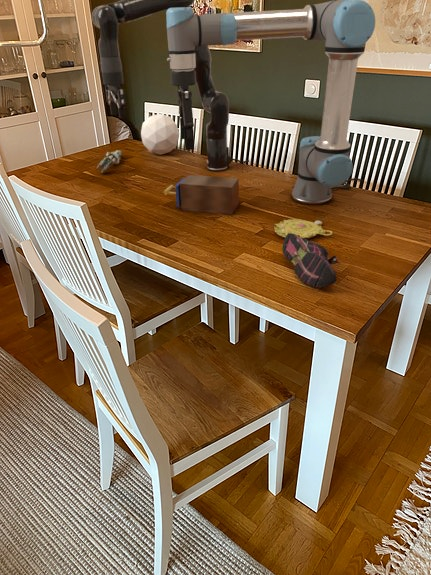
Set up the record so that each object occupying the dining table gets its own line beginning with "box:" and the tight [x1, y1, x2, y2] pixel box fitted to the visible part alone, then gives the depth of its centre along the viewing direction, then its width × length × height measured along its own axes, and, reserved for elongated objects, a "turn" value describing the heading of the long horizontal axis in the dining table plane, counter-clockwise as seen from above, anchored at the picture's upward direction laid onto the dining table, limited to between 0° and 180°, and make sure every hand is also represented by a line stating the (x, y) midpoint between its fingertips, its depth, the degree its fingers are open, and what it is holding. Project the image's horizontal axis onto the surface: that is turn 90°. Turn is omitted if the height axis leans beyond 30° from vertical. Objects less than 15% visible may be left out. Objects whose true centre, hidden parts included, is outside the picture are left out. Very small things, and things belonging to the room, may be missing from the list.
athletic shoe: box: [282, 233, 341, 288], centre depth 122 cm, size 11×22×12 cm
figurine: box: [96, 150, 123, 174], centre depth 213 cm, size 7×8×30 cm
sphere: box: [140, 113, 180, 156], centre depth 225 cm, size 19×20×20 cm
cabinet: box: [180, 174, 240, 216], centre depth 164 cm, size 19×10×10 cm, turn 74°
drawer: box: [163, 177, 186, 208], centre depth 165 cm, size 23×9×8 cm, turn 74°
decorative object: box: [273, 218, 333, 239], centre depth 145 cm, size 21×2×20 cm
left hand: (118, 116), depth 171 cm, fingers open, 8 cm apart
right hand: (187, 144), depth 140 cm, fingers open, 13 cm apart
